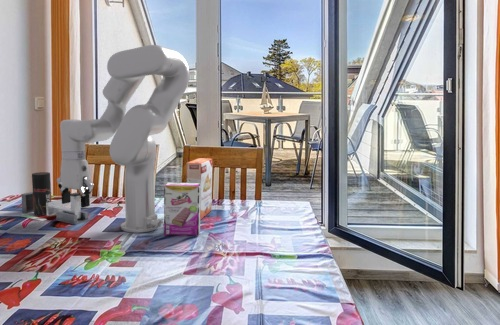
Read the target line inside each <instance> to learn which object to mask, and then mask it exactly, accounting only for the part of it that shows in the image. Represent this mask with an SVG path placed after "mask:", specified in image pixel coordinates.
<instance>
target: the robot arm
mask: <svg viewBox="0 0 500 325" xmlns="http://www.w3.org/2000/svg"><path fill="white" fill-rule="evenodd" d="M189 68H190V67H189V65H188V62H187V61H186V59H185V57H184V56H183V55H182V54H181V53H179V52H178V51H176V50H175V49H173V48H169V47H165V46H161V45H156V44H148V45H147V44H146V45H144V46H143V45H142V46H138V47H134V48H130V49H126V50H125V49H124V50H121V51H117V52H114V53H113V54H112V55H111V56H110V57H109V58H108V61H107V65H106V70H107V73H108V74H109V76H110V78H109V80H108V81H107V83H106V84H105V86H104V88H103V89H102V95H103V97H104V99H106V101H107V106H106V109H105V110H104V112H103V114H102V115H101V117H100V118H98V119H97V118H96V119H85V120H81V119H63V120H61V121H60V124H59V125H60V146H61V147H60V148H61V151H60V152H61V162H60V176H59V177H57V178H56V183H57V184H58V188H59V192H60V193H61V199H62V204H63V205H65V204H69V203H70V204H71V199H70V194H71V191H70V190H77V191H79V193H80V205H81V208H87V207H90V195H91V194H92V192H93V188H94V186H95V184H94V182H92V181H91V175H90V173H91V172H90V167H89V162H88V160H86V157H87V154H86V144H88V143H89V144H90V143H96V142H105V141H107V140H109V139H111V138H112V137H113V138H112V140H111V142H110V145H109V156H110V158H111V160H112V162H114V163H115V164H116V165H117V166H121V167H125V169H124V170H125V171H124V204H125V206H124V207H125V212H124V213H125V221H124V222H122V223H121V224H120V229H121V230H122V231H124V232H126V233H133V234H134V233H135V234H136V233H137V234H139V233H148V232H152V231H155V230H158V229H159V228H160V227H162V224H164V219H159V218H158V214H157V213H156V210H155V209H156V207H155V206H156V205H155V204H156V203H155V197H156V196H155V195H156V193H155V192H156V190H155V180H156V179H155V169H156V168H155V166H156V158H157V154H158V153H157V150H158V149H157V144H156V140H155V139H154V138H153V137H152V135H158V134H161V133H162V132H164V130H166V127H167V126H168V124H169V122H170V120H171V118H172V116H173V114H174V113H175V111H176V109H177V107H178V105H179V103H180V101H181V99H182V97H183V95H184V94H185V92H186V90H187V89H188V85H189V82H190V69H189ZM152 75H154V76H155V75H156V76H162V79H161V80H160V81H159V83H158V84H157V85H156V86H155V88H154V89H153V91H152V94H151V95H150V97H149V98H148V101H147V102H146V103H145V104H137V105H134V106H132V107H131V108H129V110H128V111H127V109H126V108H127V104H128V103H129V101H130V99H131V98H132V97H133V95H134V94H135V93H136V91H137V89H138V88H139V87H140V85H141V84H142V82H143V81H144V79H145V78H146V76H152Z"/></svg>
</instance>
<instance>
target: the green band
mask: <svg viewBox="0 0 500 325" xmlns="http://www.w3.org/2000/svg"><path fill="white" fill-rule="evenodd" d="M20 217H21V218H27V219H31V218H33V217H36V215H30V214H27V213H24V214H21V215H20ZM31 220H32V219H31Z"/></svg>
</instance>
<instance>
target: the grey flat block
mask: <svg viewBox="0 0 500 325" xmlns="http://www.w3.org/2000/svg"><path fill="white" fill-rule="evenodd" d="M20 195H21V196H20V197H21V211H22V213H23V214H30V213H34V204H33V191H29V192H25V193H21V194H20Z"/></svg>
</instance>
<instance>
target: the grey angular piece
mask: <svg viewBox="0 0 500 325" xmlns="http://www.w3.org/2000/svg"><path fill="white" fill-rule="evenodd" d="M70 199H71V202H70V207H65V206H64V204H62V198H61V199H56V200H51V202H47V203H46V211H47V215H46V216H47V217H50V216H56V212H64V213H69V214H73V215H77V219H80V218H81V211H82V209H81V208H82V207H81V193H80V192H72V193H71V192H70Z"/></svg>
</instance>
